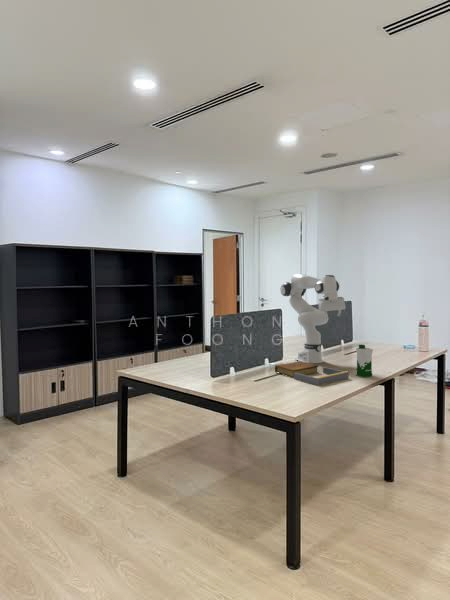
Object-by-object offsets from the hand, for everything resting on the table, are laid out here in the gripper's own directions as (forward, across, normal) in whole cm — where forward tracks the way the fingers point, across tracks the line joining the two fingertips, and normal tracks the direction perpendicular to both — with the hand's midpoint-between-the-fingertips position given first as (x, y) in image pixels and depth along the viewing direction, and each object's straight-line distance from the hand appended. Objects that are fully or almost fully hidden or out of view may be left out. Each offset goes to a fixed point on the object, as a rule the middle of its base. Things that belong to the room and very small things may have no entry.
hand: (333, 317), depth 294 cm
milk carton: (+40, -5, +22) cm, 45 cm away
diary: (+36, +31, -3) cm, 48 cm away
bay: (+38, +25, +17) cm, 49 cm away
